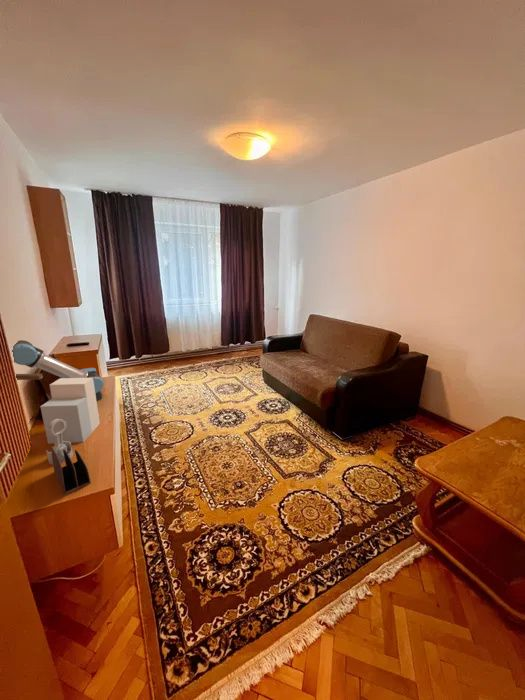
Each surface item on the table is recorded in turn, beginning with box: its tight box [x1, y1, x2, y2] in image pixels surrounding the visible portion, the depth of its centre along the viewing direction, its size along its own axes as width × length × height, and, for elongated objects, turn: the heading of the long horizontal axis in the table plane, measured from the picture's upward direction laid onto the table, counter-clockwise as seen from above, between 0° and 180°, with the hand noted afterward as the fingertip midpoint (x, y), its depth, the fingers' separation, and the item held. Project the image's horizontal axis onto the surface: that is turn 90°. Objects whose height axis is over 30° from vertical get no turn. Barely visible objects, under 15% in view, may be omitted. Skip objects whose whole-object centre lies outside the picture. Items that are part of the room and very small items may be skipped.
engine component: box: [45, 419, 74, 465], centre depth 139 cm, size 11×20×10 cm
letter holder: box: [50, 447, 92, 495], centre depth 126 cm, size 10×20×14 cm, turn 45°
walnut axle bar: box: [15, 373, 44, 381], centre depth 150 cm, size 3×24×2 cm, turn 95°
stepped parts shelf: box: [39, 377, 101, 445], centre depth 159 cm, size 20×18×30 cm
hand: (7, 371), depth 148 cm, fingers closed on walnut axle bar, 3 cm apart
